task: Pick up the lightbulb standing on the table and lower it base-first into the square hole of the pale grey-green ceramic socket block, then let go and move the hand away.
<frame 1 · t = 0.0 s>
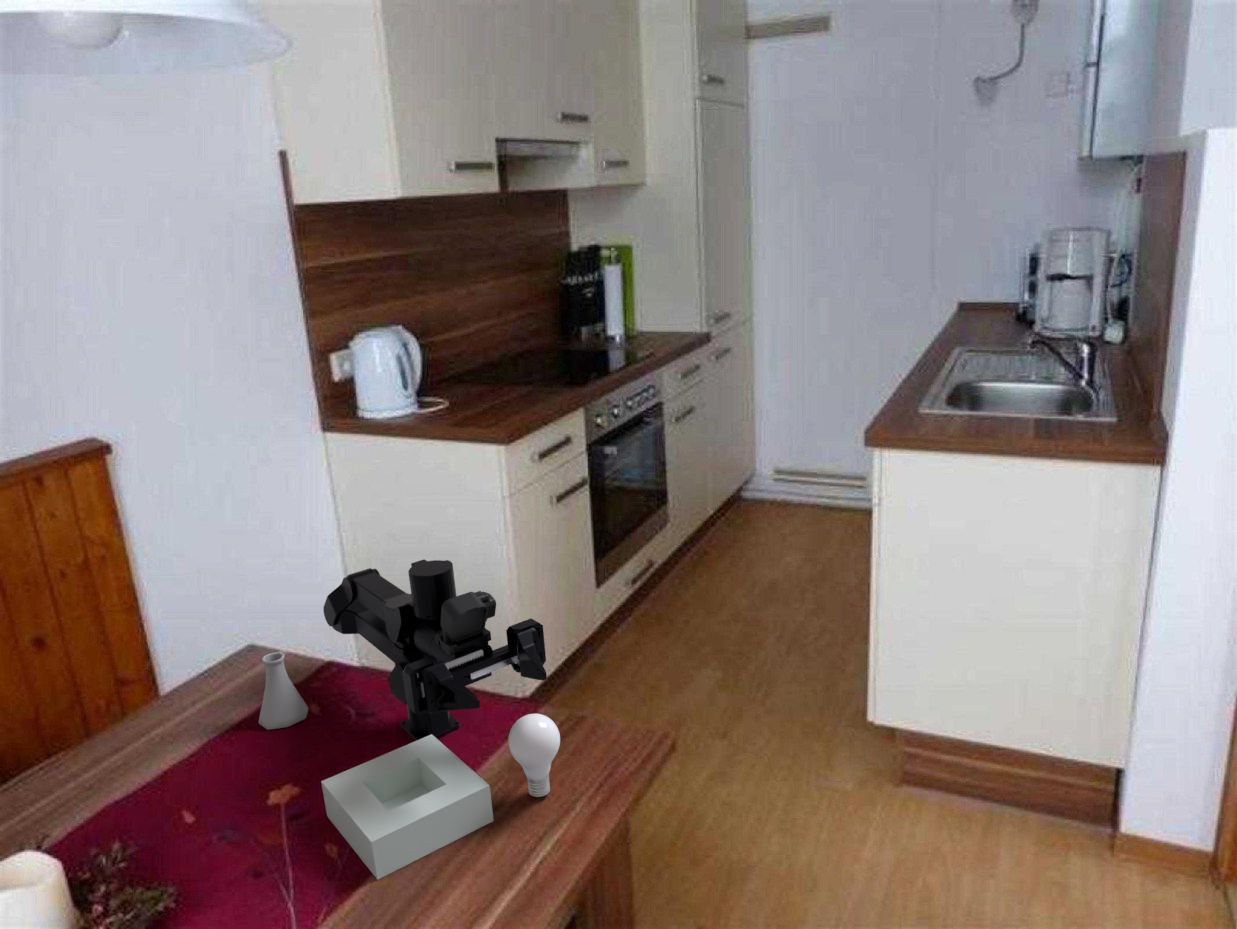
hand: (512, 689, 110), 17 cm above the table, tool horizontal, fingers open, 9 cm apart
socket block: (409, 818, 115), on the table
flask: (284, 718, 140), on the table
lightbulb: (539, 796, 118), on the table
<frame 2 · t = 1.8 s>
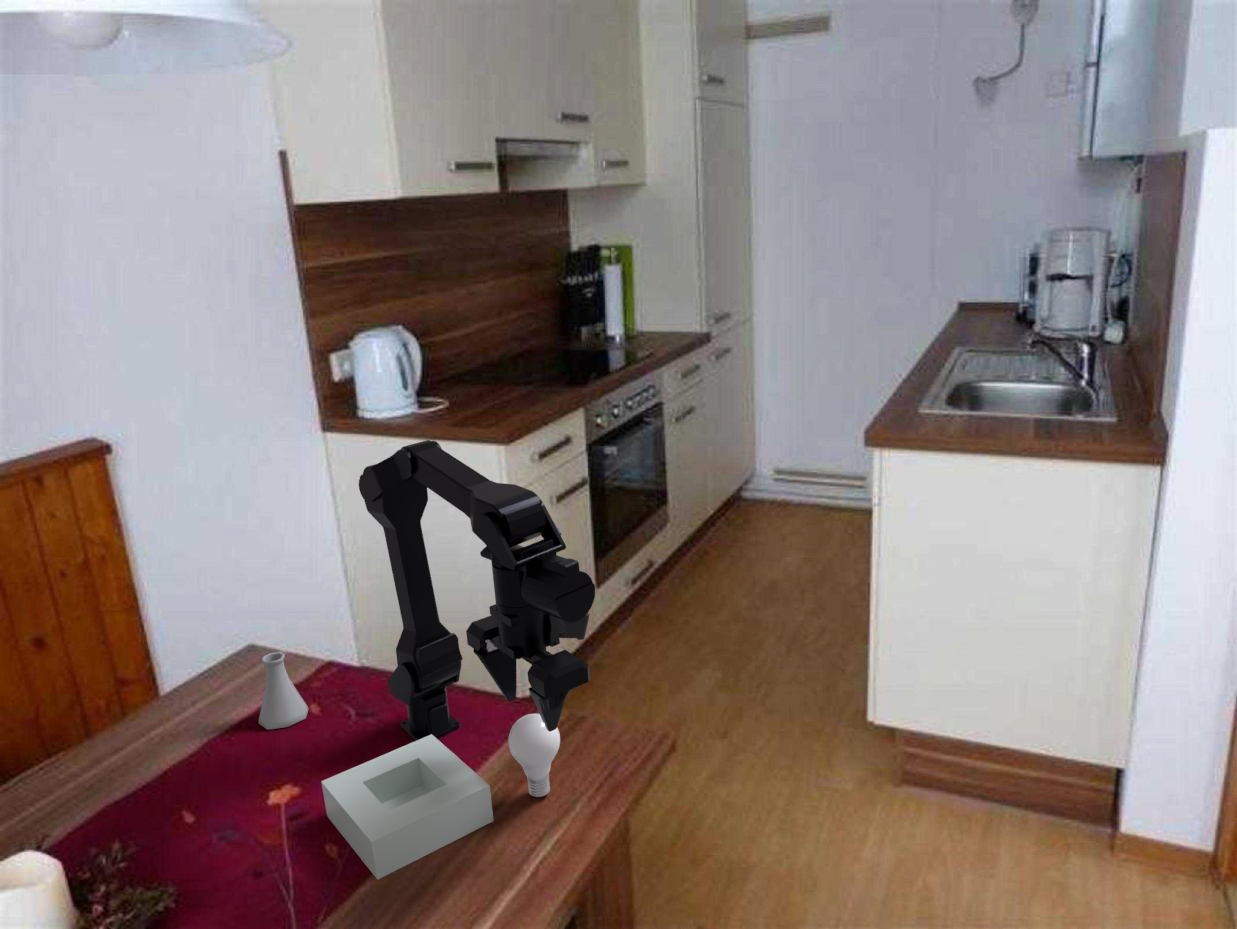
hand: (531, 714, 115), 11 cm above the table, tool pointing down, fingers open, 9 cm apart
nothing on the table moved.
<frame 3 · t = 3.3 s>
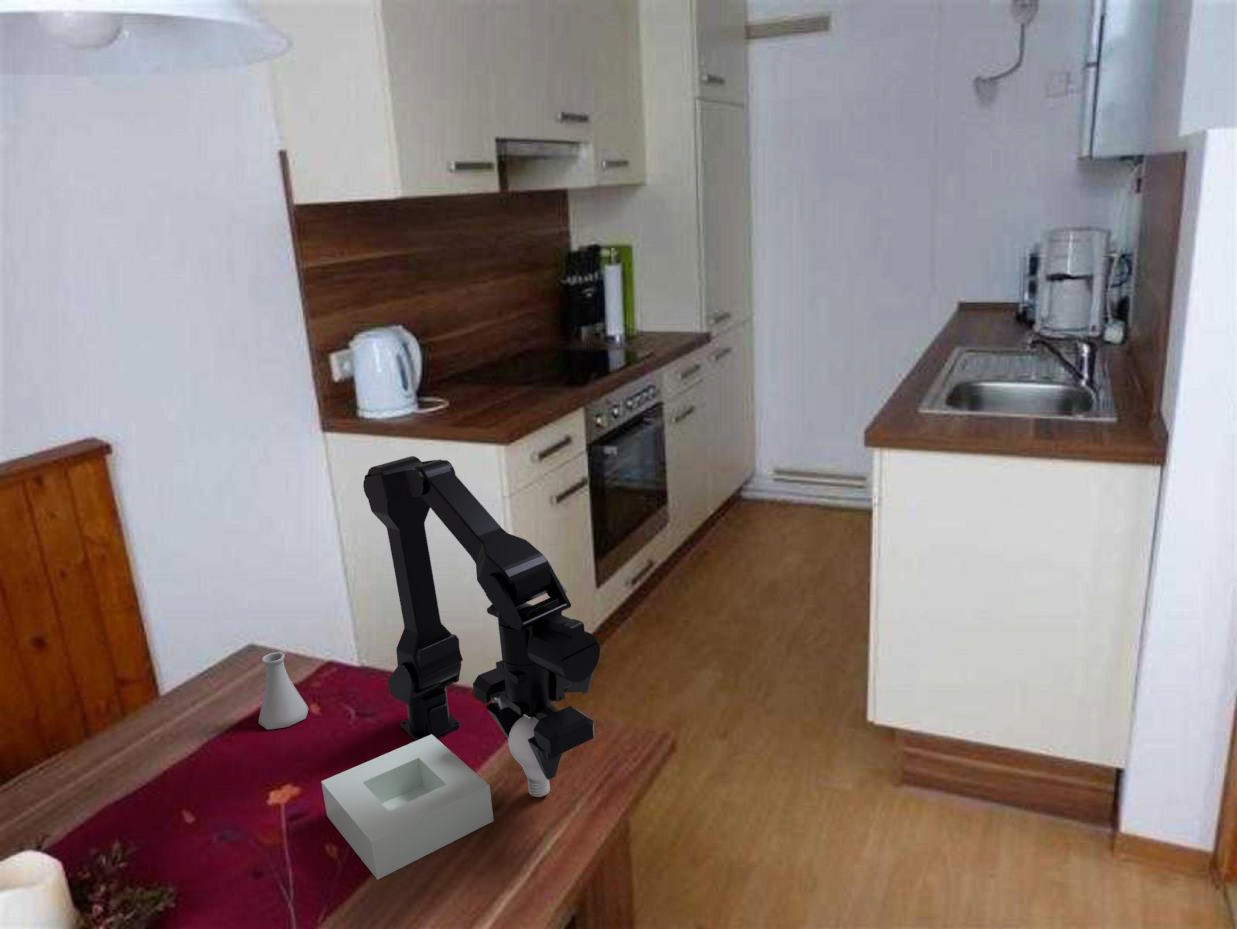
hand: (537, 766, 117), 4 cm above the table, tool pointing down, fingers closed on lightbulb, 6 cm apart
lightbulb: (540, 796, 118), on the table, touching gripper
everything else where it was.
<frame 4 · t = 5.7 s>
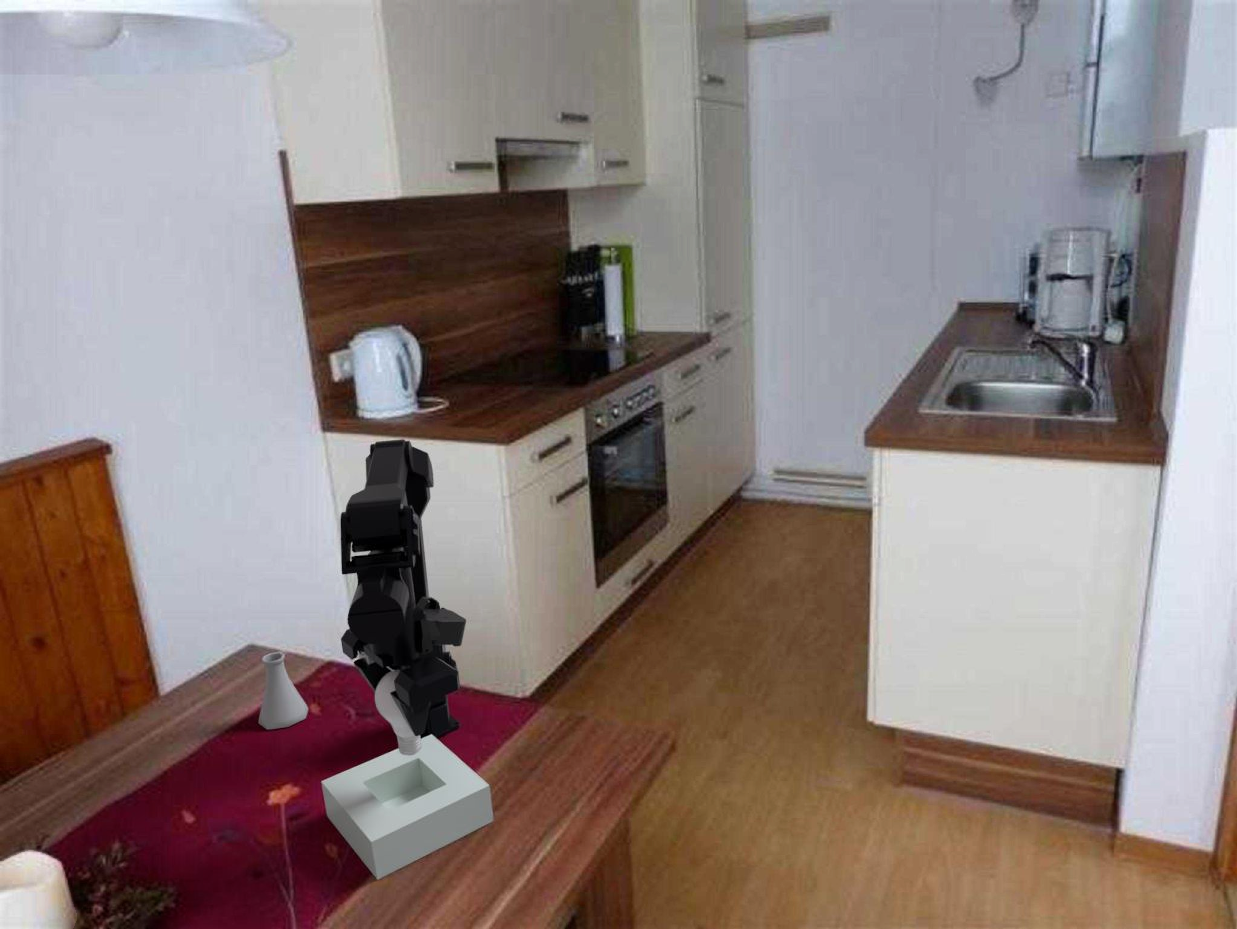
hand: (406, 723, 112), 13 cm above the table, tool pointing down, fingers closed on lightbulb, 6 cm apart
lightbulb: (411, 754, 113), point 9 cm above the table, touching gripper
everything else where it was.
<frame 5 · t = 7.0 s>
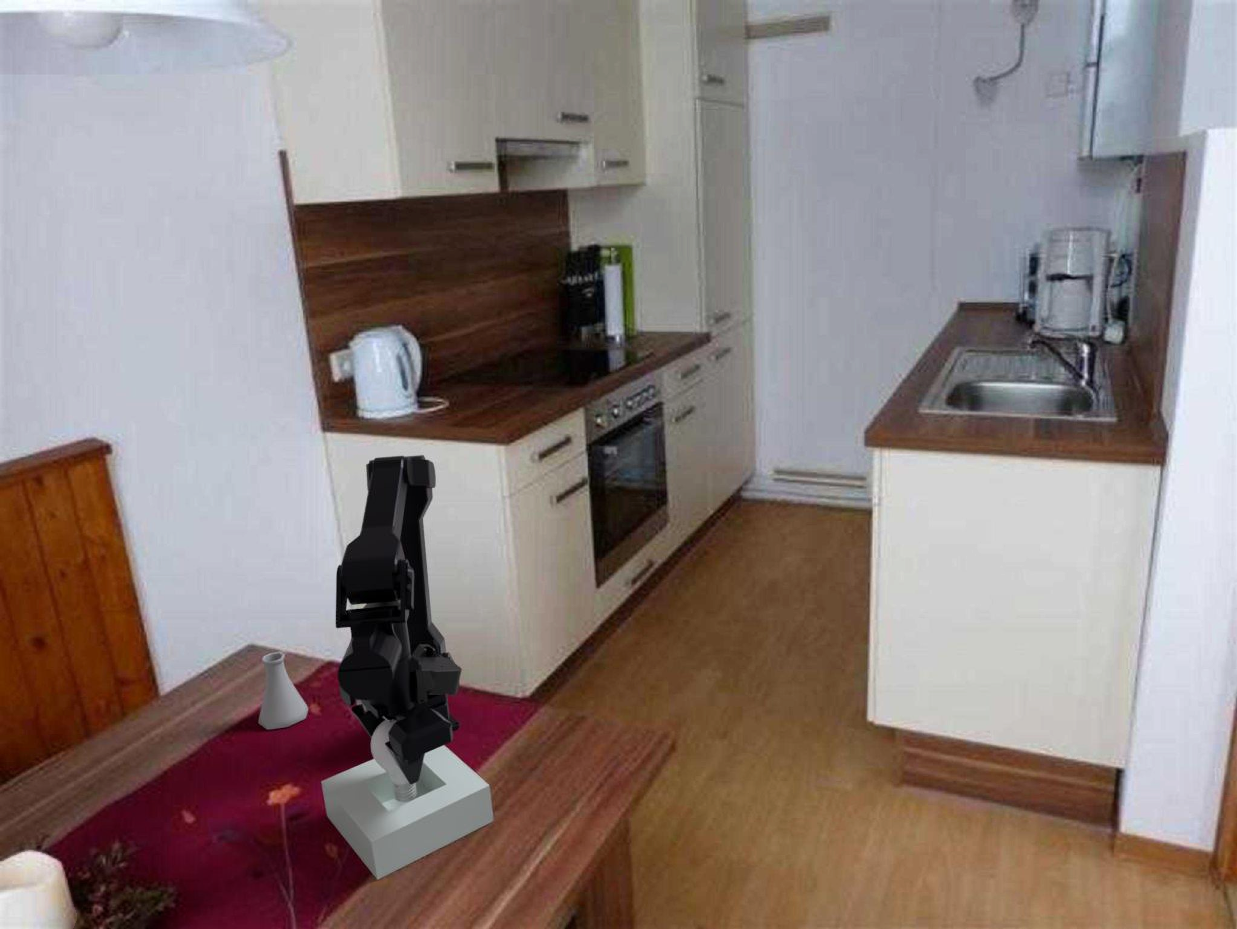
hand: (402, 770, 113), 7 cm above the table, tool pointing down, fingers closed on lightbulb, 6 cm apart
lightbulb: (406, 800, 114), point 2 cm above the table, touching gripper
everything else where it was.
when the fingers open (6 cm above the table, at t = 7.9 s): lightbulb drops 1 cm, resting on socket block.
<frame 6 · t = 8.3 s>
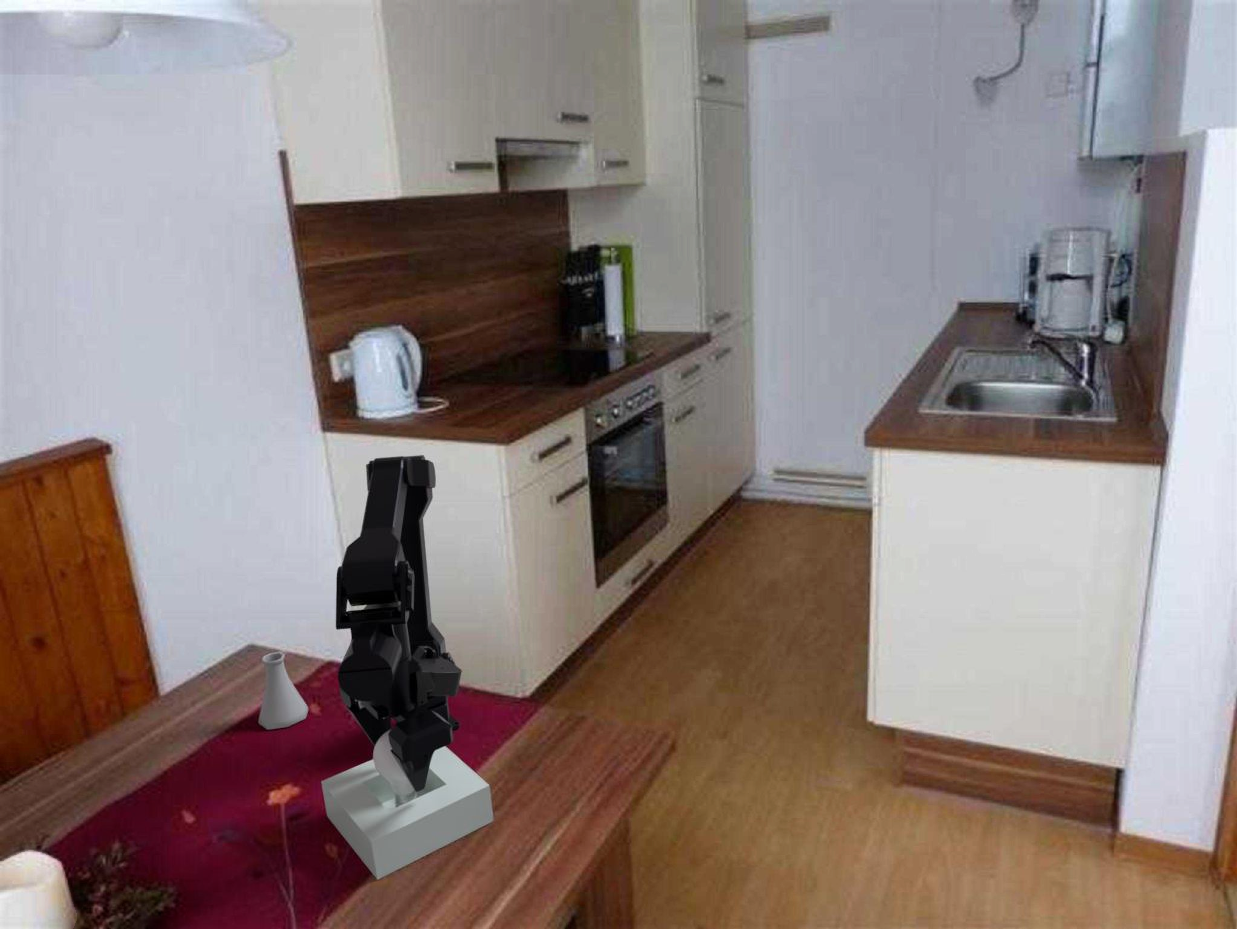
hand: (402, 772, 113), 6 cm above the table, tool pointing down, fingers open, 9 cm apart
lightbulb: (407, 811, 115), point 1 cm above the table, touching socket block
everything else where it was.
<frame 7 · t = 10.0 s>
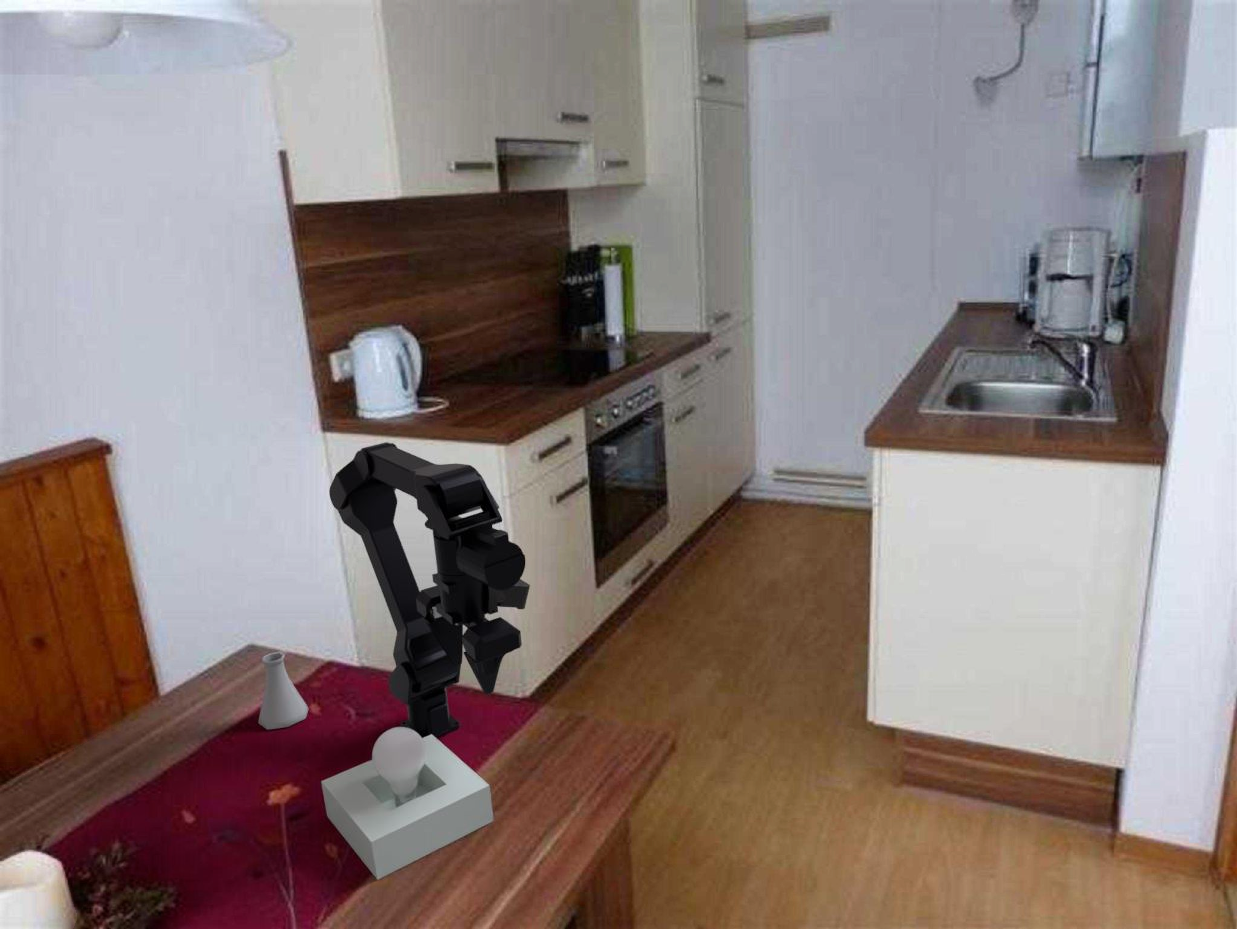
hand: (472, 678, 121), 13 cm above the table, tool pointing down, fingers open, 9 cm apart
nothing on the table moved.
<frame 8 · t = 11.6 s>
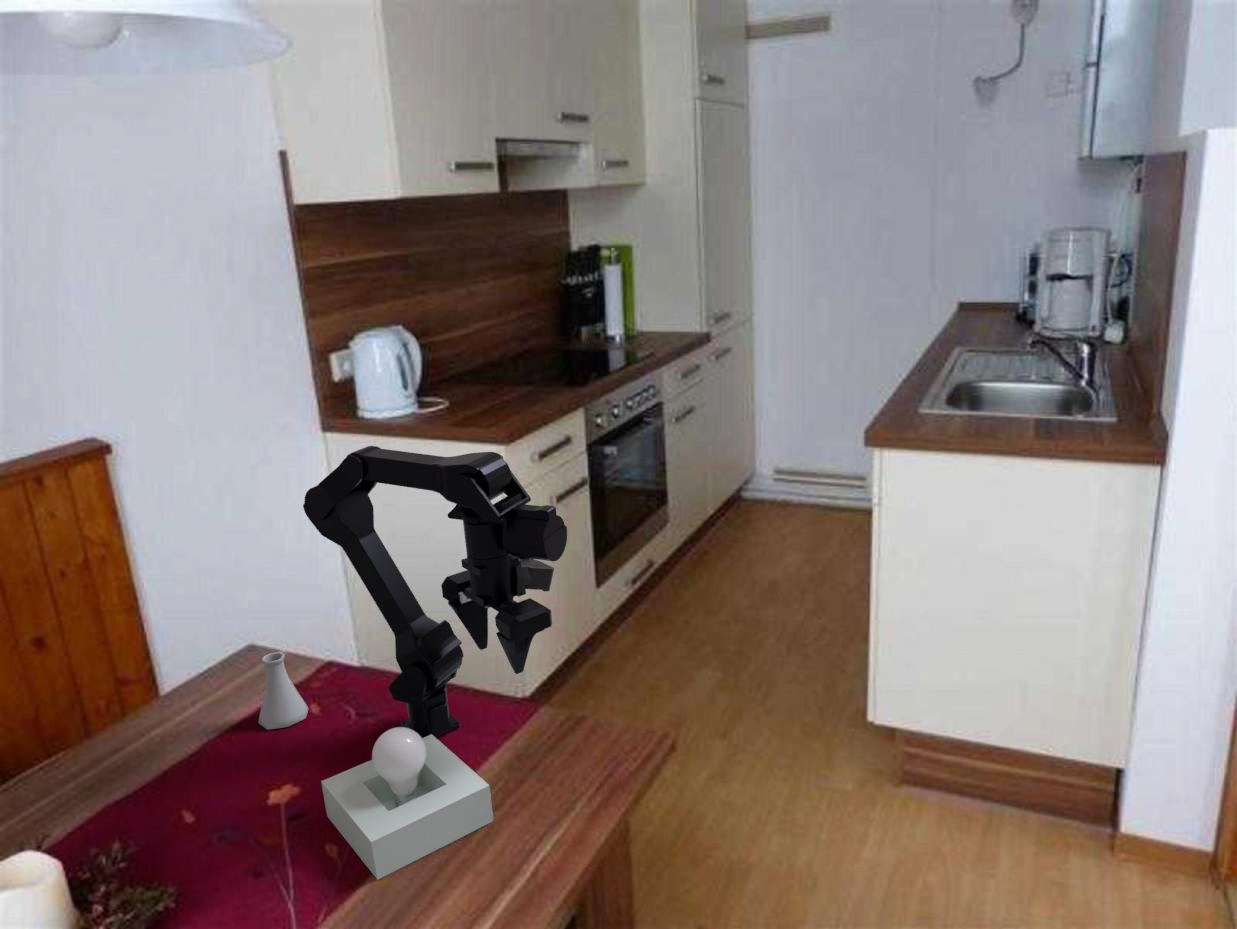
hand: (500, 660, 125), 13 cm above the table, tool pointing down, fingers open, 9 cm apart
nothing on the table moved.
at the end: lightbulb 0.3 cm off-centre on the socket block, point 0.8 cm above the socket block's base; lightbulb tilted 0°; the gripper is holding nothing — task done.
